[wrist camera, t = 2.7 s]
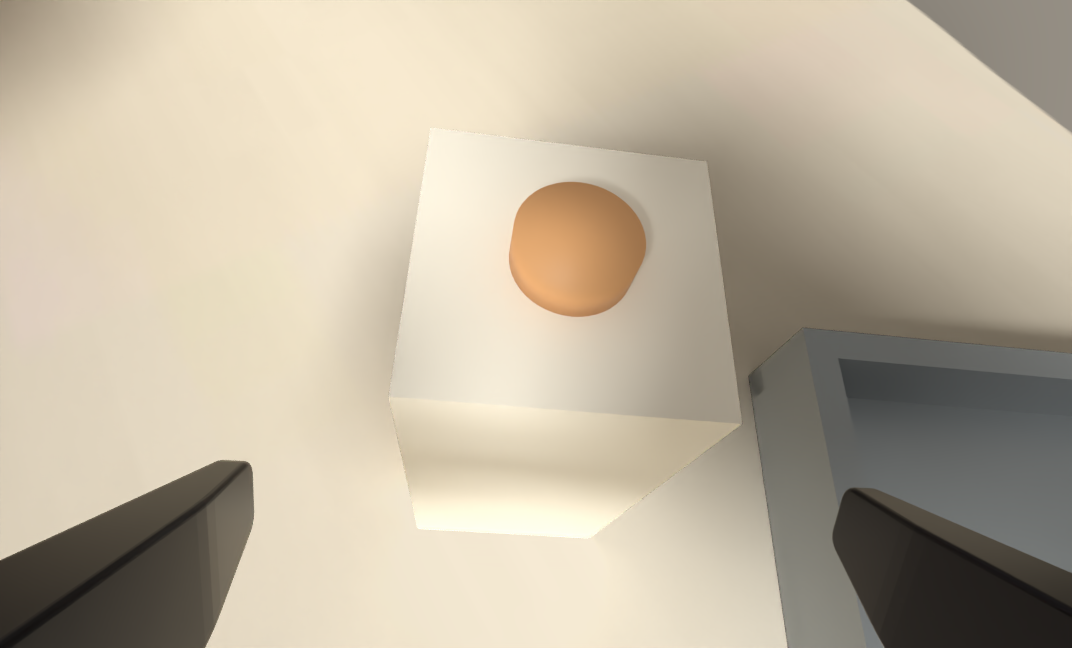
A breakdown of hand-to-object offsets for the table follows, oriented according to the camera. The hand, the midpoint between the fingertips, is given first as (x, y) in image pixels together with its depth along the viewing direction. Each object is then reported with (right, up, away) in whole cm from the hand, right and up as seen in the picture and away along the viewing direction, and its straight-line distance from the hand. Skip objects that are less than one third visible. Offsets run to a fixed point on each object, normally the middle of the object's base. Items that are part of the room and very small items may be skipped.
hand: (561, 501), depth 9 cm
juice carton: (-1, -2, +12) cm, 12 cm away
